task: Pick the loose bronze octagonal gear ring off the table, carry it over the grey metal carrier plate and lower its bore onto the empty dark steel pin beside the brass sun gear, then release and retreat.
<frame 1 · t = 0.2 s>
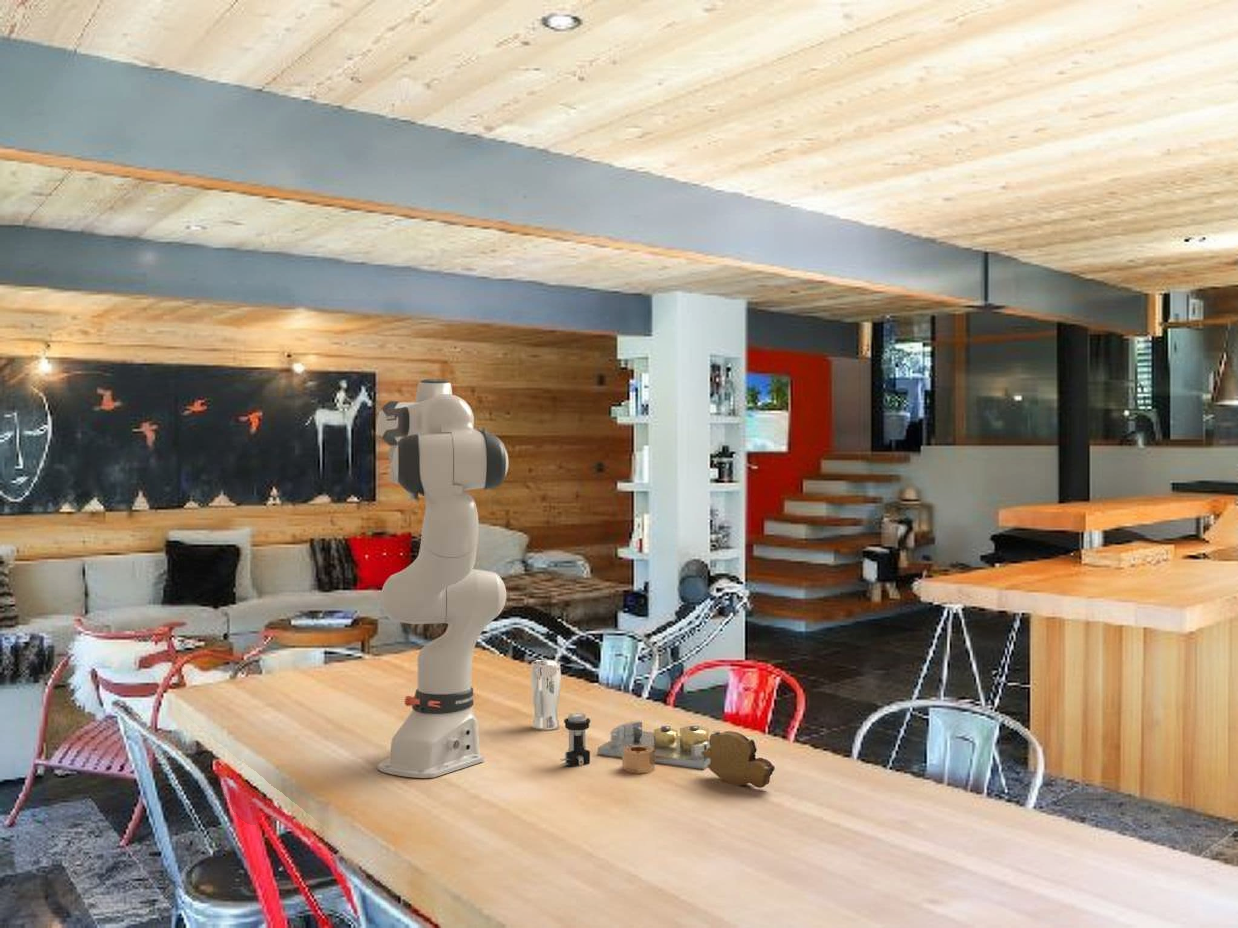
hand: (431, 499, 266), 52 cm above the table, tool tilted 20°, fingers open, 8 cm apart
push button: (574, 765, 225), on the table
beer glass: (545, 727, 254), on the table
wooden carving: (737, 784, 212), on the table
carrier: (665, 751, 234), on the table
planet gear: (638, 768, 221), on the table
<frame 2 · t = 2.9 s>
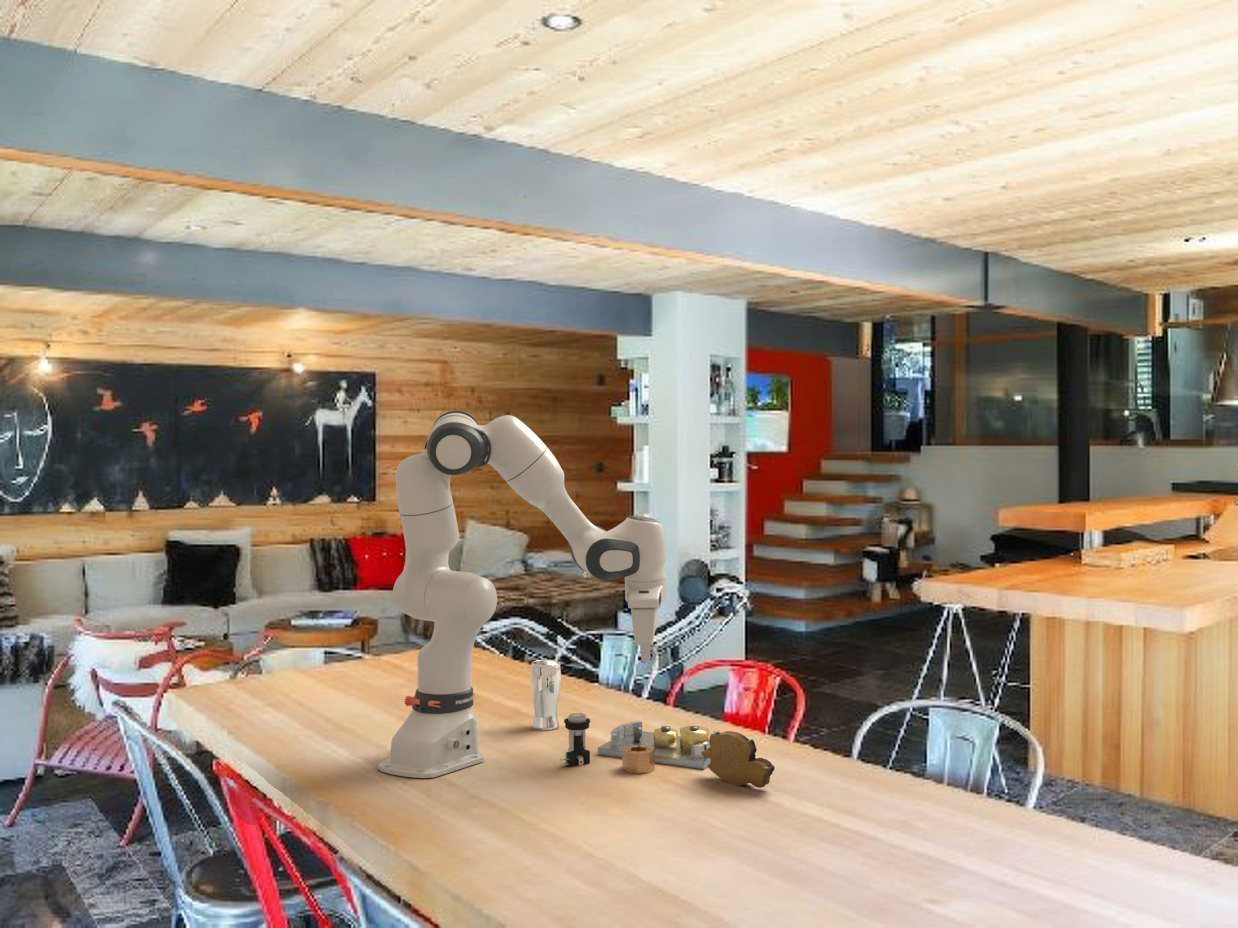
hand: (647, 655, 236), 20 cm above the table, tool pointing down, fingers open, 8 cm apart
nothing on the table moved.
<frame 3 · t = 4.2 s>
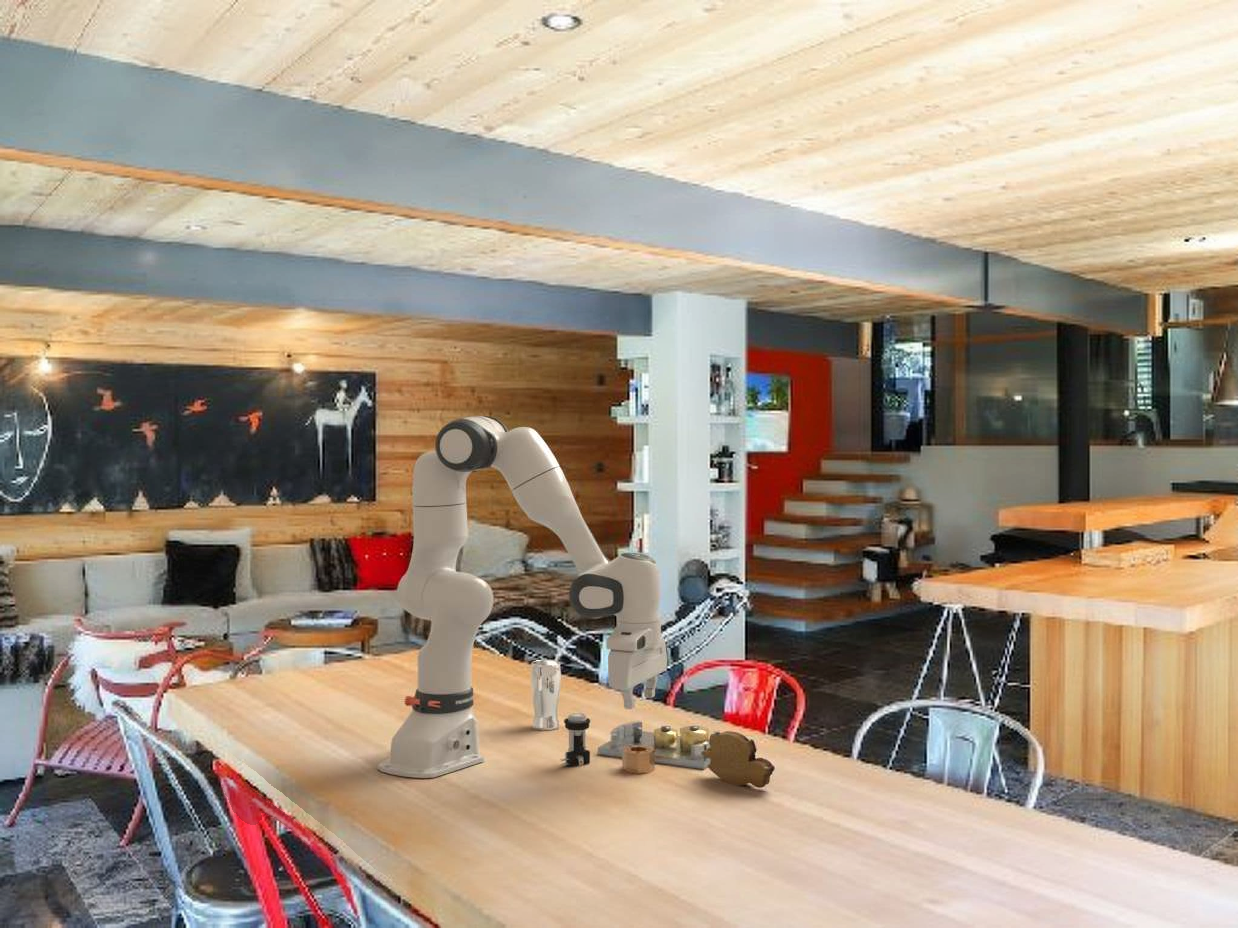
hand: (639, 702, 221), 13 cm above the table, tool pointing down, fingers open, 8 cm apart
nothing on the table moved.
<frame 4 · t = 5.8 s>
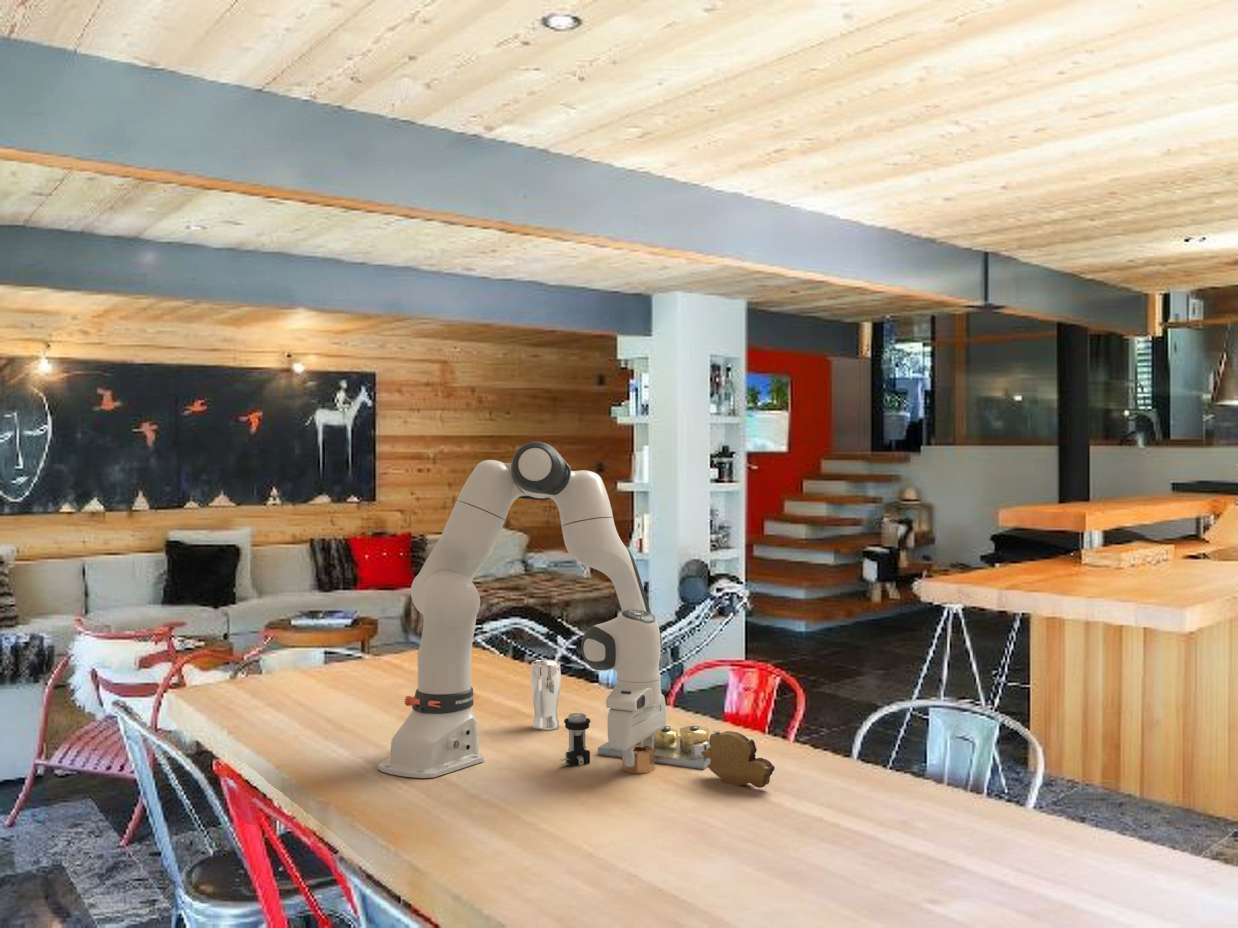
hand: (638, 760, 221), 2 cm above the table, tool pointing down, fingers closed on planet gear, 6 cm apart
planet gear: (638, 768, 222), on the table, touching gripper
everything else where it was.
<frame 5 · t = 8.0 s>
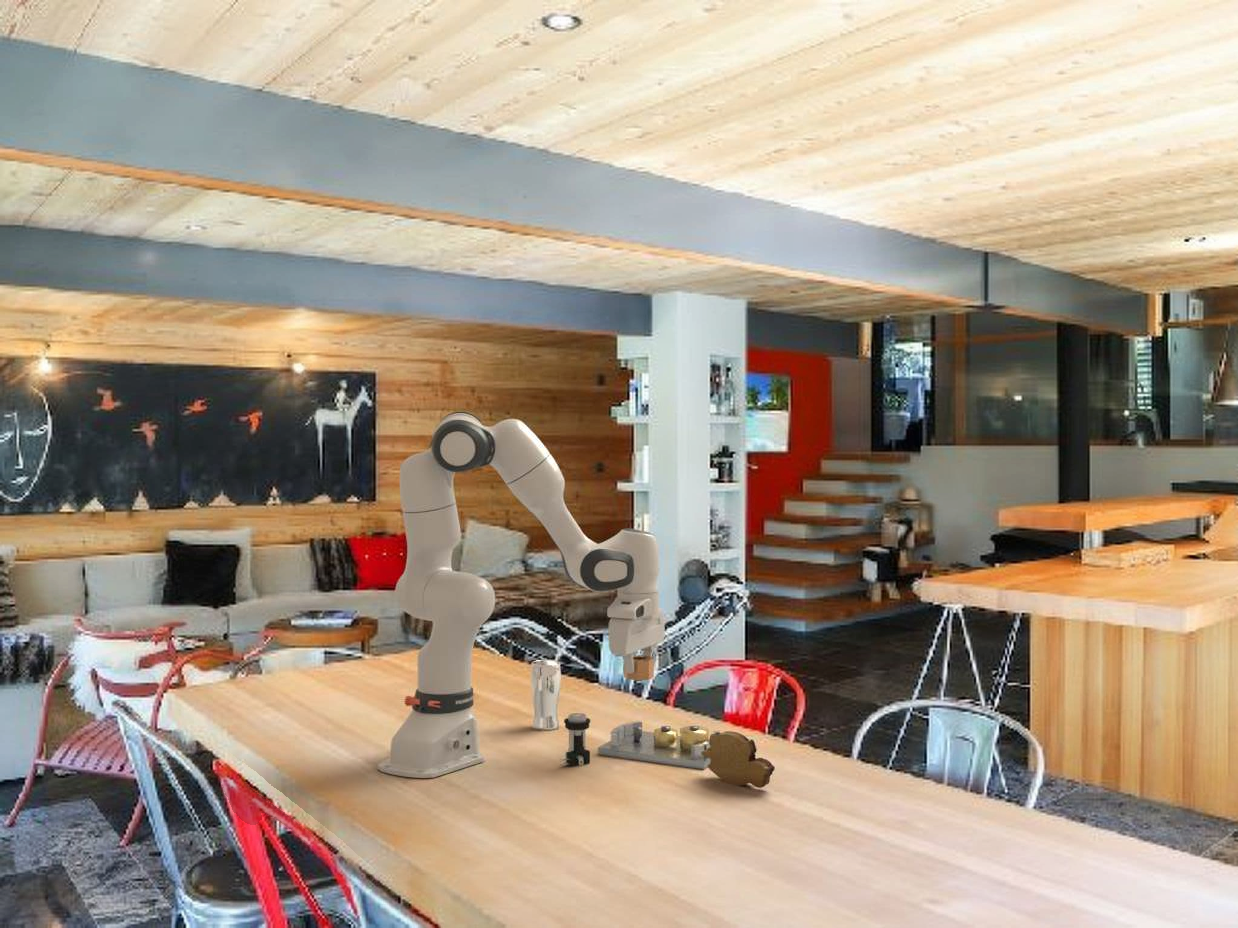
hand: (638, 669, 235), 17 cm above the table, tool pointing down, fingers closed on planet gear, 6 cm apart
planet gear: (638, 676, 235), point 16 cm above the table, touching gripper
everything else where it was.
when the fingers open (5 cm above the table, at t = 10.5 s): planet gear drops 2 cm, resting on carrier.
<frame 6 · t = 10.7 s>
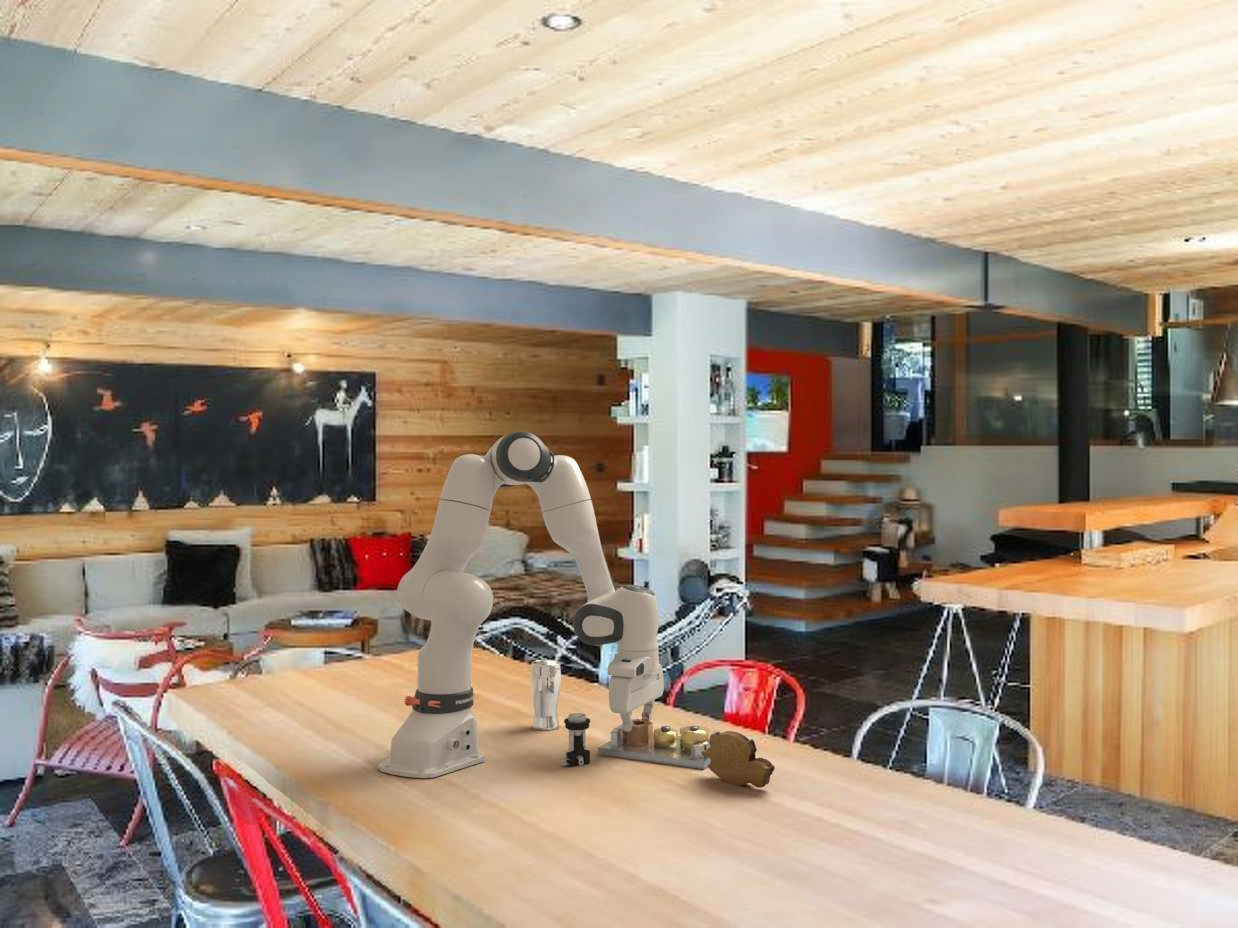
hand: (637, 725, 236), 5 cm above the table, tool pointing down, fingers open, 8 cm apart
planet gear: (637, 741, 236), point 1 cm above the table, touching carrier
everything else where it was.
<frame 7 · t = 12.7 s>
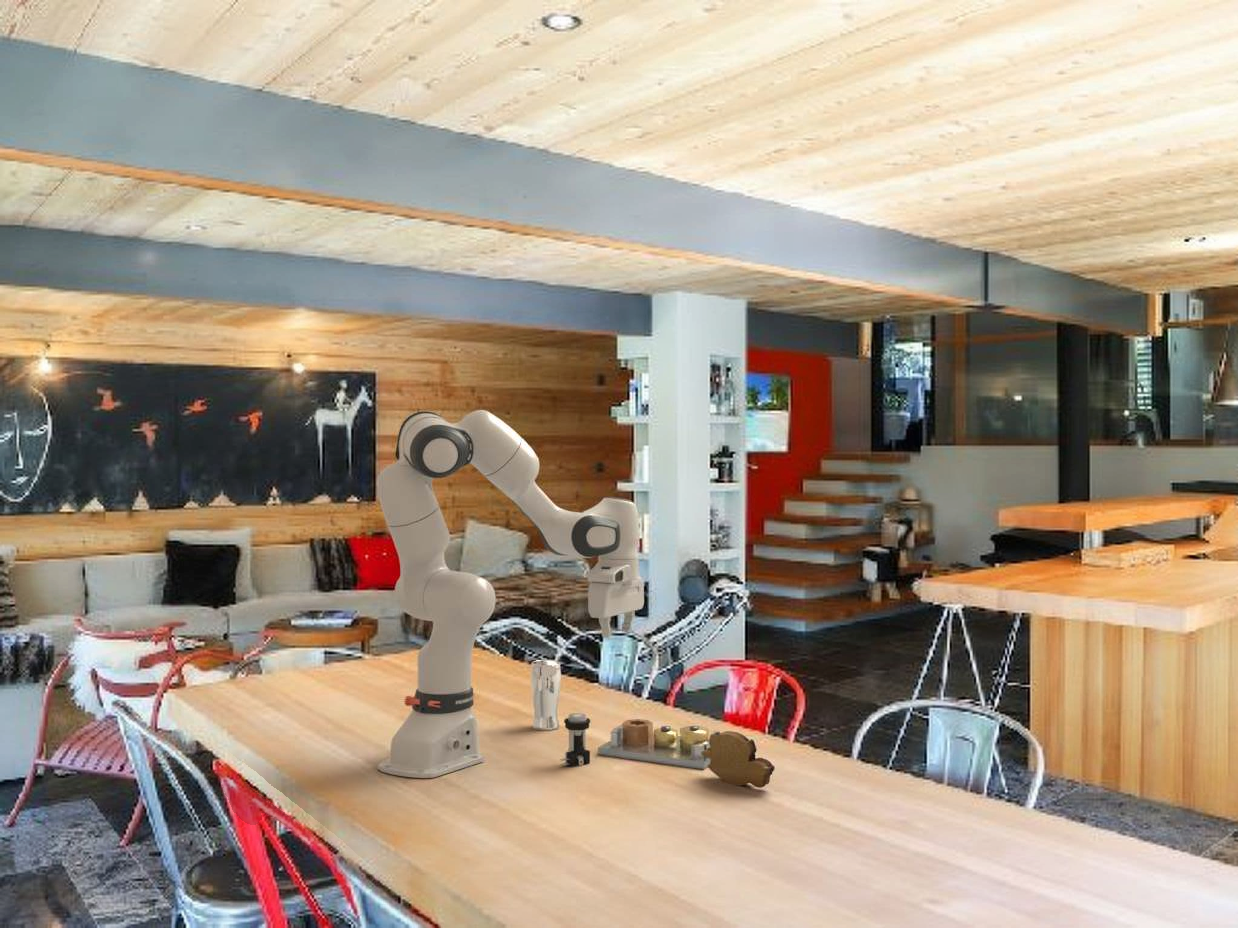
hand: (616, 634, 242), 24 cm above the table, tool pointing down, fingers open, 8 cm apart
nothing on the table moved.
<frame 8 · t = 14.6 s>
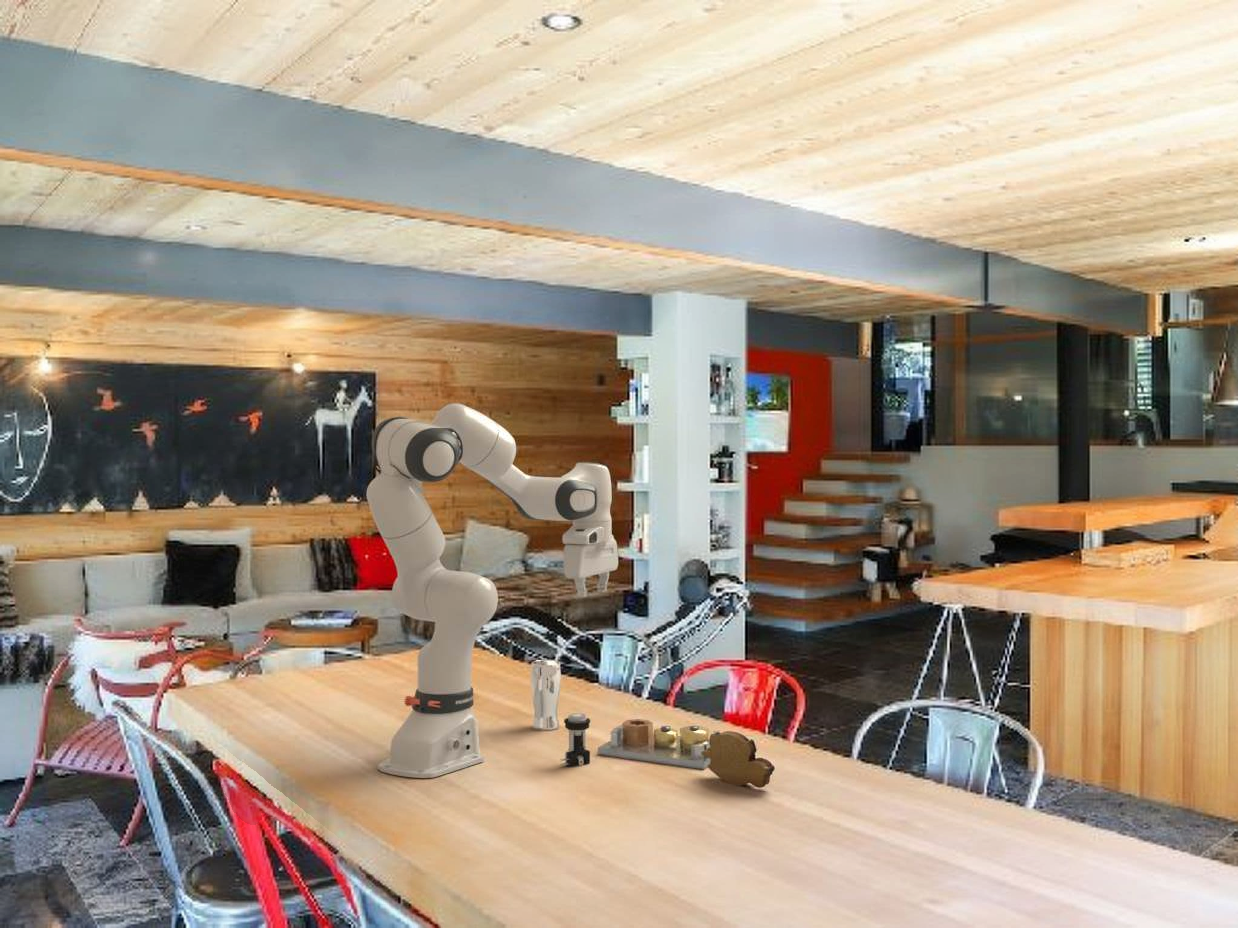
hand: (592, 594, 250), 31 cm above the table, tool pointing down, fingers open, 8 cm apart
nothing on the table moved.
at the end: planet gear 0.1 cm from the target spot on the carrier, point 1.5 cm above the carrier's base; the gripper is holding nothing; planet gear tilted 0° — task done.
